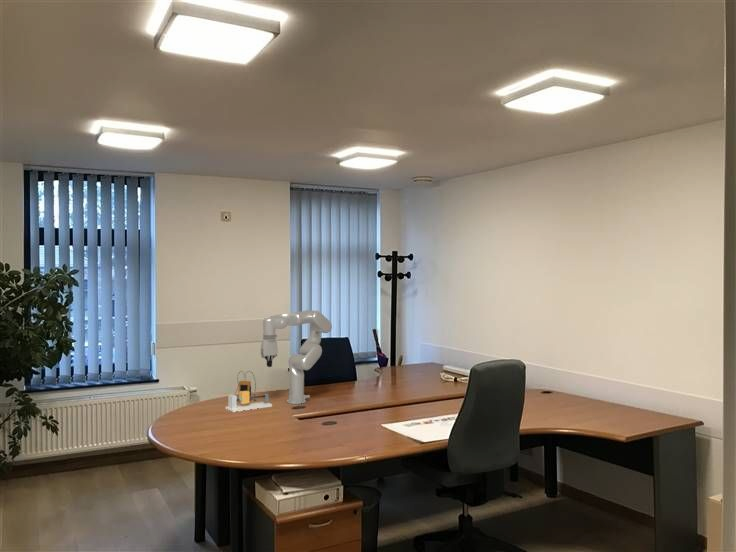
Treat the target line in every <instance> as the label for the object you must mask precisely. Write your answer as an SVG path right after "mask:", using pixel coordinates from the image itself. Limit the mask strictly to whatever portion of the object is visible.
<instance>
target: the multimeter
mask: <svg viewBox="0 0 736 552" xmlns="http://www.w3.org/2000/svg"><path fill="white" fill-rule="evenodd" d="M248 372H249V373H252V375H253V379H254V380H256V378H255V375H254V373H253V372H252V371H250V370H249V371H246V372H245V373H244V380H240V381H239V374H240V373H242V370H240V371H239V372H238V374H237V380H238V387H237V389H236V391H235V393H234V395H236V393H237V391H238V393H239V392H240V391H249V392H250V396H249V397H252V385H251V384H252V383H251V381H250V380H247V373H248ZM254 382H255V383H254V385H255V388H254V391H256V389H257V387H256V386H257V383H256V381H254ZM255 396H256V395H254V396H253V397H255ZM238 398H239V394H238V396H237V399H238ZM252 401H254V402H255V401H256V398H254V399H253V400H252ZM249 402H251V399H249Z"/></svg>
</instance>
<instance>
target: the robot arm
mask: <svg viewBox="0 0 736 552" xmlns="http://www.w3.org/2000/svg"><path fill="white" fill-rule="evenodd" d="M306 324H309V330H310V334H309V336H308V338H307V339H306V340H305V341H304V342H303V343H302V345H301V346H300V348H299V353H292V354H291V355H290V356H289V357H288V360H287V361H288V363H287V364H288V367H289V368H288V369H289V380H288V383H289V387H288V388H289V389H288V398H287V399H286V403H288V404H290V405H292V404H293V405H301V403H302V404H306V402H307V400H306V399H310V398H311V395H310V394H307V395H306V394H305V372H304V371H309V370H310V369H311V368H313V366H314V365H315V364H316V363H317V361H318V360H319V359H320V358H321V356H322V353H323V349H322V346H321V342H322V341H321V340H322V336H321V333H324V334H328V333H330V332H331V331H332V328H333V326H332V323H331V321H330V320H329V319H328V318H327V317H326V316H325V315H324V314H322V313H321V312H320V311H319V310H311V309H310V310H309V309H308V310H301V311H296V312H290V313H282V314H281V313H280V314H276V315H275V314H274V315H271V316H269V317H264V319H263V321H262V326H263V327H262V329H263V330H262V331H263V333H262V335H263V336H262V337H263V338H262V340H261V342H260V355H261V357H260V358H262V359H265V360H266V367H267V368H272V367H273V360H274V358H276V357H278V353H279V350H278V349H279V348H278V342H277V341H278V340H277V339H276V338H277V337H278V335H277V334H276V330H278V329H280V330H281V329H285V328H287V326H293V327H294V326H301V325H306Z"/></svg>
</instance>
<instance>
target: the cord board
mask: <svg viewBox="0 0 736 552" xmlns="http://www.w3.org/2000/svg"><path fill="white" fill-rule="evenodd" d="M254 396H255V397H254ZM254 396H250V397H249V399H250V400H252V399H254V398H255V399H260V398H263V399H262V400H263V401H258V402H255V401H254V402H249V403H246V404H241V403H240V404H237V403H239V402H241V401H242V398H241V397H239V398H238V396H237V395H236V394H228V398H227V400H228V401H227V403H228V404H227V405H228V406H227V405H226V406H225V410H227V409H228V410H227V411H229V410H230V411H229V412H231V411H232V412H231V413H237V412H236V411H238V412H242V411H243V410H245V411H249V410H250V409H252V410H258V409H257V408H259V409H265V408H271V407H273V404H272V403H271V402H270V399H269V398H270V395H269V393H264V394H263V395H254ZM237 401H238V402H237ZM250 411H251V410H250ZM243 412H244V411H243Z"/></svg>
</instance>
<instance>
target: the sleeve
mask: <svg viewBox="0 0 736 552" xmlns="http://www.w3.org/2000/svg"><path fill="white" fill-rule="evenodd" d="M238 395H239V397H241V398H242V401H241V402H239V401H238V403H239V404H240V405H241V404H248V403H250V401H249V396H250V392H249V391H240V392H239V391H238ZM250 397H251V396H250Z"/></svg>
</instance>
